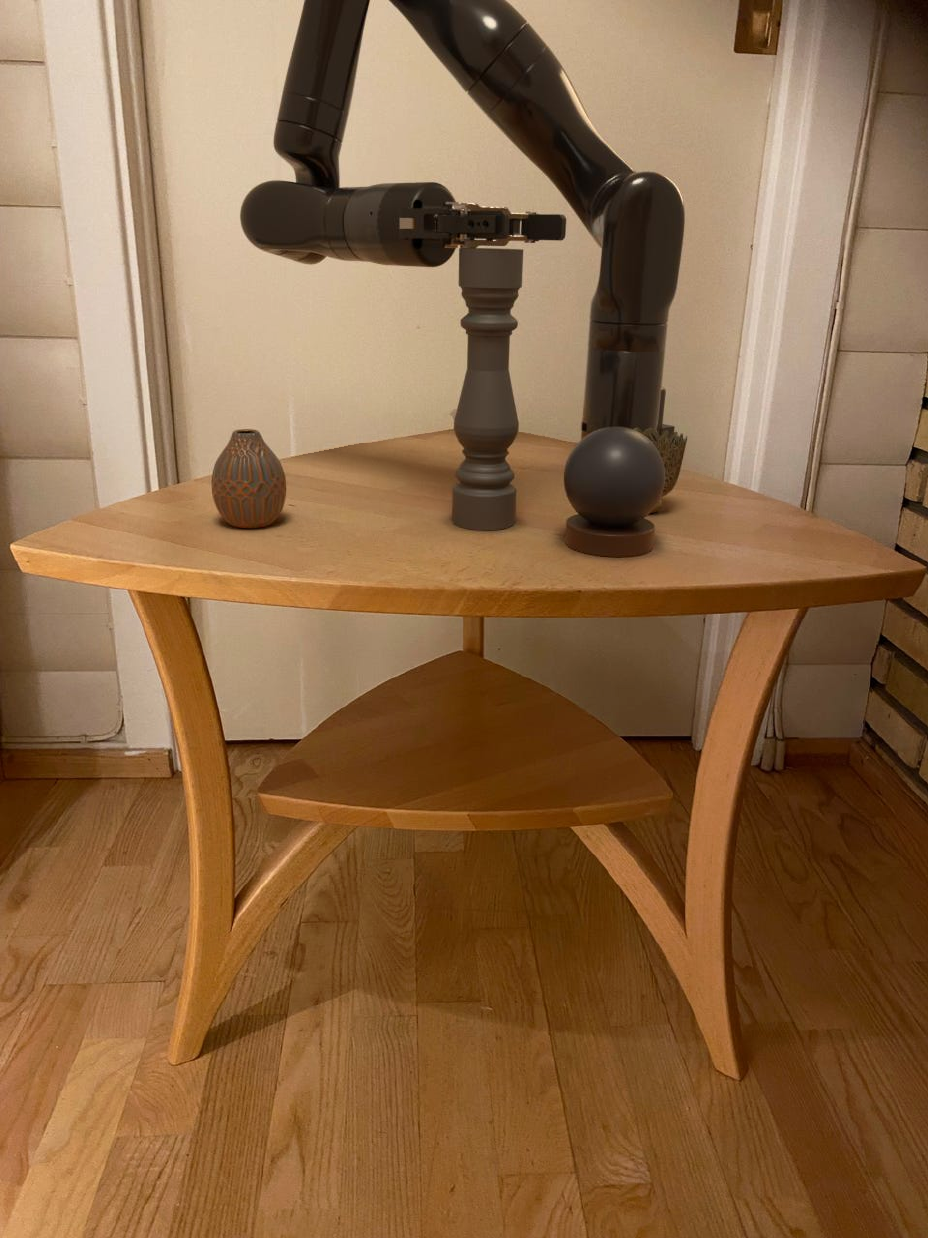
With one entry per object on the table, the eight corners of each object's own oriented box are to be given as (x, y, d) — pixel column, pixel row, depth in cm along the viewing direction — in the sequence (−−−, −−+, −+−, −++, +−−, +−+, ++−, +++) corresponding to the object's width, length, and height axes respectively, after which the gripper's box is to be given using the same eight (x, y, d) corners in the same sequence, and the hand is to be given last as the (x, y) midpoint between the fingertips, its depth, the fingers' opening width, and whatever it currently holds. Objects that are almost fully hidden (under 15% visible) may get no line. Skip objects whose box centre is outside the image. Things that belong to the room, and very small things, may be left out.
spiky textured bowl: (635, 523, 95) (642, 442, 92) (592, 505, 101) (598, 429, 98) (694, 515, 98) (703, 437, 95) (649, 499, 104) (656, 425, 101)
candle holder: (515, 531, 91) (526, 250, 82) (450, 529, 91) (454, 248, 82) (514, 513, 97) (525, 248, 88) (453, 511, 97) (457, 247, 88)
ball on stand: (605, 525, 94) (613, 415, 90) (678, 547, 88) (691, 430, 84) (539, 540, 89) (545, 424, 85) (612, 565, 82) (623, 440, 78)
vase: (300, 518, 94) (297, 428, 91) (264, 536, 88) (259, 440, 85) (239, 510, 96) (233, 422, 93) (199, 527, 90) (192, 434, 87)
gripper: (347, 177, 87) (487, 173, 78) (449, 186, 97) (583, 183, 88) (349, 265, 90) (484, 272, 80) (448, 265, 100) (578, 271, 91)
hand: (536, 226), depth 84 cm, fingers open, 8 cm apart
